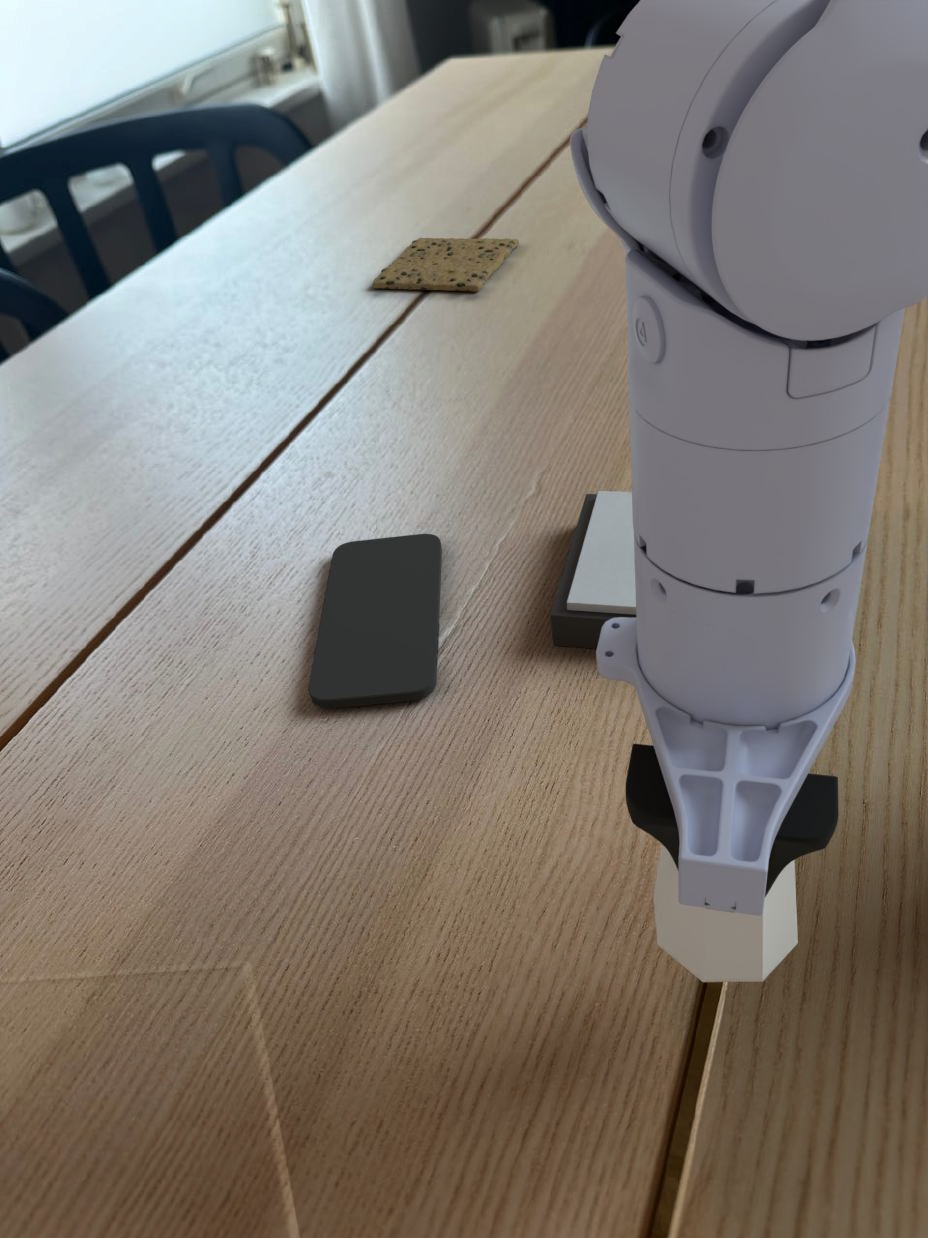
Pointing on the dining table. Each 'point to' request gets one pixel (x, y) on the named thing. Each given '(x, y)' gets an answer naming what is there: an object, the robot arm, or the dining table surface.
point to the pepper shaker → (725, 930)
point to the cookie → (446, 264)
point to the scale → (596, 571)
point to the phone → (379, 623)
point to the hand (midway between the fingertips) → (728, 842)
